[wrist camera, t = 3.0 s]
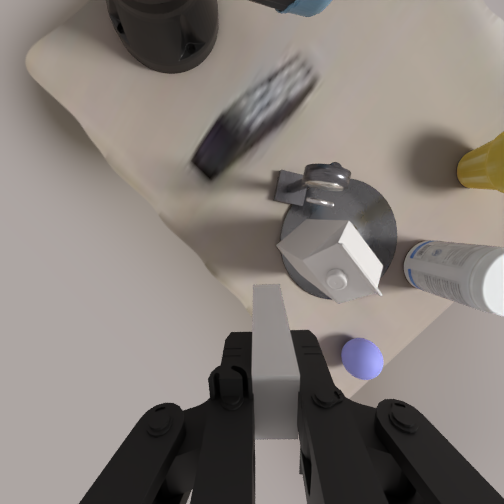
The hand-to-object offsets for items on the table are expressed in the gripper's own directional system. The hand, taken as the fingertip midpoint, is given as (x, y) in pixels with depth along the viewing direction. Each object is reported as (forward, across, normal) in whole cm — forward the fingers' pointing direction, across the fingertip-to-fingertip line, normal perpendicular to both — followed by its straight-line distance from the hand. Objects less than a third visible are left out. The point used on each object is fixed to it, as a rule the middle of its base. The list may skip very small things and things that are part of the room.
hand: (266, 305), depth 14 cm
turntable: (+30, +14, -5) cm, 34 cm away
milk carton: (+29, +8, -5) cm, 31 cm away
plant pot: (+36, +40, +7) cm, 54 cm away
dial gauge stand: (+31, +6, +5) cm, 31 cm away
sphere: (+28, +18, -26) cm, 42 cm away
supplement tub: (+32, +32, -10) cm, 46 cm away
